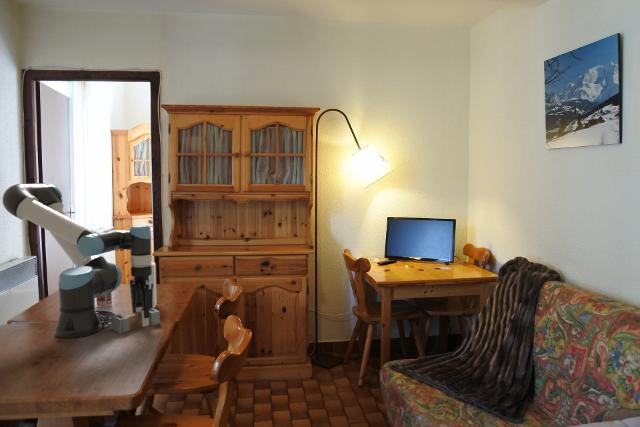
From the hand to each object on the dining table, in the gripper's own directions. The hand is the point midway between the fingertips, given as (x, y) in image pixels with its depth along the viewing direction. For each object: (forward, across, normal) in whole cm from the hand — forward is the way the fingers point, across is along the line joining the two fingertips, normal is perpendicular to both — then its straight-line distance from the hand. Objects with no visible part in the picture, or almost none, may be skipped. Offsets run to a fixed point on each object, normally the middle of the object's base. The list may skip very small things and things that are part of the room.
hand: (142, 324), depth 194 cm
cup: (0, +13, -5) cm, 14 cm away
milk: (0, +22, -14) cm, 27 cm away
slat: (0, 0, +2) cm, 3 cm away
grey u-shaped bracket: (0, 0, +9) cm, 9 cm away
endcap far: (0, 0, -4) cm, 4 cm away
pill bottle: (0, +37, -1) cm, 37 cm away
